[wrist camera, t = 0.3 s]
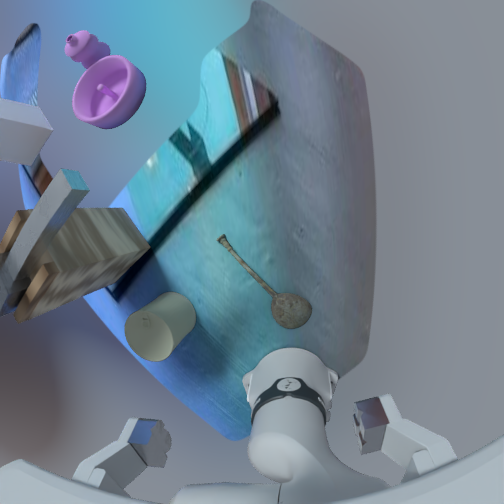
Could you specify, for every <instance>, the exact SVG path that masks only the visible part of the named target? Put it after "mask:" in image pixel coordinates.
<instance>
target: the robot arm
mask: <svg viewBox="0 0 504 504" xmlns="http://www.w3.org/2000/svg"><path fill="white" fill-rule="evenodd" d="M337 381H338V374H337V373H336V372H335V371H333V370H331V369H329V368H327V367H326V366H325V365H324V364H323V362H322V361H321V360H320V359H319V358H318V357H317V356H316V355H314V354H313V353H311V352H309V351H307V350H304V349H299V348H284V349H279V350H276V351H274V352H271V353H270V354H268V355H266V356H265V357H264V358H263V359H262V360H261V361H260V362H259V363H258V365H257V366H256V368H255V369H254V370H252V371H250V372H249V373H247V374H245V375H244V376H243V384H244V387H245V390H246V393H247V401H248V402H249V403H250V406H251V409H252V414H251V424H252V430H251V435H250V440H249V445H248V457H249V460H250V462H251V463H252V465H253V466H254V467H255V468H256V469H257V470H258V471H259V472H260V473H261V474H262V475H263V476H265V477H267V478H269V479H271V480H273V481H276V482H278V483H281V484H252V483H229V482H222V483H205V484H190V485H187V486H185V487H183V488H182V489H180V490H179V491H178V492H177V493H176V494H175V495H174V496H173V497H172V499H171V500H170V502H169V504H504V435H502V436H500V437H499V438H497V439H496V440H494V441H492V442H491V443H489V444H487V445H485V446H484V447H482V448H480V449H479V450H477V451H475V452H473V453H471V454H469V455H467V456H465V457H464V458H461V459H459V460H458V459H457V457H456V455H455V453H454V451H453V449H452V447H451V445H450V443H449V442H448V440H447V439H446V438H443V437H442V436H439V435H437V434H435V433H433V432H431V431H429V430H427V429H425V428H423V427H421V426H419V425H417V424H416V423H413V422H411V421H410V420H408V419H402V417H401V415H400V413H399V411H398V408H397V407H396V404H395V402H394V400H393V398H392V397H391V394H385V395H381V396H378V397H374V398H370V399H366V400H362V401H358V402H355V403H354V411H355V414H354V415H353V426H354V431H355V435H356V436H358V445H359V449H360V452H361V455H362V454H366V453H370V452H374V451H378V450H381V451H382V452H383V453H385V454H386V455H387V456H388V457H390V458H391V459H392V460H394V461H395V462H396V463H398V464H399V465H400V466H402V467H403V468H404V469H406V473H405V475H404V477H403V479H402V481H401V483H400V484H399V485H395V486H393V487H391V486H389V484H387V483H386V482H385V481H383V480H381V479H379V478H375V477H371V476H367V475H364V474H361V473H359V472H357V471H355V470H353V469H351V468H349V467H348V466H346V465H345V464H343V463H342V462H341V461H340V460H339V459H338V458H337V457H336V456H335V455H334V454H333V453H332V451H331V450H330V448H329V445H328V441H327V437H326V433H325V425H326V422H328V421H329V420H330V411H328V409H331V407H332V402H331V400H332V397H333V394H334V391H335V388H336V384H337ZM331 382H332V383H331ZM170 447H171V436H170V434H169V432H168V431H167V430H165V429H164V423H163V422H162V420H154V419H144V418H133V417H131V418H130V419H128V421H127V423H126V425H125V427H124V429H123V431H122V433H121V435H120V437H119V439H118V441H114V442H112V443H111V444H110V445H108V446H106V447H105V448H103V449H102V450H100V451H98V452H97V453H95V454H94V455H92V456H90V457H89V458H87V459H85V460H84V461H82V462H81V463H80V464H79V466H78V468H77V470H76V472H75V473H74V476H73V477H72V479H71V480H70V479H67V478H64V477H62V476H59V475H57V474H54V473H52V472H50V471H47V470H45V469H43V468H41V467H38V466H36V465H34V464H32V463H30V462H28V461H26V460H23V459H18V460H15V461H13V462H11V463H9V464H7V465H5V466H3V467H1V468H0V504H161V503H155V502H149V501H144V500H139V499H135V498H131V497H130V495H129V494H128V493H127V492H126V491H124V490H123V489H124V488H125V487H126V486H127V485H128V484H129V483H131V482H132V481H133V480H134V479H135V478H136V477H137V476H138V475H140V474H141V473H142V472H143V471H144V470H145V469H146V468H147V466H151V467H161V468H164V466H165V463H166V460H167V455H166V452H168V451H169V450H170Z"/></svg>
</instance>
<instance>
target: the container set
mask: <svg viewBox="0 0 504 504" xmlns="http://www.w3.org/2000/svg"><path fill="white" fill-rule="evenodd" d="M66 42H67V44H66V47H65V53H66V55H67V56H70V57H71V58H72V60H73V61H75V62H82V65H83V66H84V67H85V68H86V69H87V70H86V71H85V72H84V74H83V75H82V77H81V78H80V80H79V81H78V83H77V85H76V88H75V90H74V94H73V100H72V106H73V111H74V113H75V115H76V117H77V118H78V119H79V120H81V121H84V122H86V123H89V124H92V125H94V126H97V127H99V128H102V129H112V128H116V127H118V126H120V125H122V124H124V123H125V122H126V121H128V120H129V119H130V118H131V117H132V116H133V115H134V114H135V112H136V111H137V110H138V109H139V107H140V105H141V104H142V101H143V99H144V96H145V92H146V79H145V77H144V74H143V73H142V72H141V71H140V70H139V69H138V68H137V67H135V66H134V65H133V64H132V63H131V62H129V61H128V60H127V59H126V58H124V57H123V56H119V55H110V48H109V46H108V45H107V44H106V43H103V42H98V39H97V37H96V36H95V35H93V34H89V32H88V31H79V32H77V33H75V34H74V35H73V34H71V35H69V36H68V37H67V39H66Z"/></svg>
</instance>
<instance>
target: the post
mask: <svg viewBox="0 0 504 504" xmlns="http://www.w3.org/2000/svg"><path fill="white" fill-rule="evenodd" d="M32 211H33V209H28V210H20V211H19V210H18V211H17V212H16V213H15V215H14V217H13V219H12V221H11V223H10V225H9V227H8V229H7V231H6V233H5V235H4V237H3V239H2V241H1V243H0V253H4V252H9V251H11V249H12V247H13V245H14V243H15V241H16V239H17V237H18V235H19V233H20V232H21V230H22V228H23V226H24V224H25V223H26V221H27V219H28V218H29V216H30V214H31V212H32ZM149 248H150V246H149V244H148V243H147V241H146V240H145V239H144V237H143V236H142V235H141V233H140V232H139V230H138V229H137V228H136V226H135V225H134V223H133V222H132V220H131V219H130V218H129V216H128V215H127V213H126V212H125V210H124V209H123V208H76V209H75V210H74V211H73V213H72V214H71V215H70V217H69V218H68V219H67V221H66V222H65V223H64V225H63V226H62V228H61V229H60V230H59V232H58V233H57V235H56V236H55V238H54V239H53V240H52V242H51V243H50V245H49V246H48V248H47V249H46V251H45V252H44V254H43V256H42V257H41V259H40V260H39V262H38V263H37V265H36V267H35V268H34V270H33V272H32V273H31V275H30V279H31V280H32V282H31V284H30V286H29V287H28V289H27V291H26V293H25V294H24V296H23V298H22V300H21V301H20V303H19V305H18V307H17V309H16V311H15V312H14V317H15V319H16V321H17V322H18V323H21V322H23V321H26V320H29V319H32V318H33V317H36V316H39V315H41V314H43V313H45V312H48V311H50V310H52V309H55V308H57V307H59V306H61V305H64V304H66V303H68V302H71V301H73V300H75V299H78V298H80V297H82V296H85V295H87V294H89V293H92V292H94V291H97V290H99V289H101V288H104V287H106V286H108V285H111V284H113V283H115V282H116V281H117V280H118V279H119V278H120V277H121V276H122V275H123V274H124V273H125V272H126V271H127V270H128V269H129V268H130V267H131V266H132V265H133V264H134V263H135V262H136V261H137V260H138V259H139V258H140V257H141V256H142V255H143V254H144V253H145V252H146V251H147V250H148V249H149Z"/></svg>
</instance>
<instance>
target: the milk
mask: <svg viewBox="0 0 504 504" xmlns="http://www.w3.org/2000/svg"><path fill="white" fill-rule="evenodd" d="M52 132H53V129H52V127H51V126H50V124H49V122H48V121H47V119H46V118H45V116H44V114H43V113H42V111H41V109H40V108H39V107H36V106H32V105H28V104H24V103H20V102H15V101H11V100H6V99H2V98H0V161H6V162H11V163H17V164H23V165H28V166H32V164H33V162H34V161H35V159H36V157H37V156H38V154H39V152H40V150H41V149H42V147H43V146H44V144H45V142H46V141H47V139H48V138H49V136H50V135H51V133H52Z"/></svg>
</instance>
